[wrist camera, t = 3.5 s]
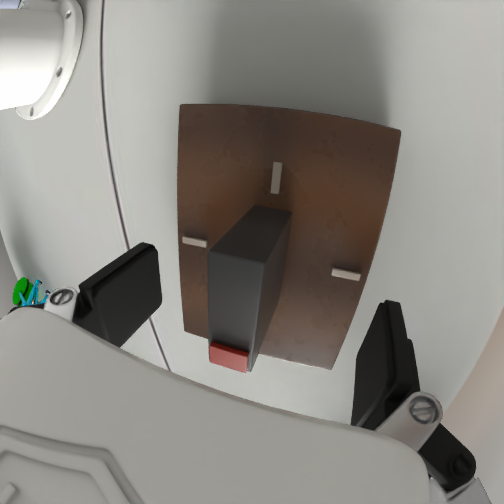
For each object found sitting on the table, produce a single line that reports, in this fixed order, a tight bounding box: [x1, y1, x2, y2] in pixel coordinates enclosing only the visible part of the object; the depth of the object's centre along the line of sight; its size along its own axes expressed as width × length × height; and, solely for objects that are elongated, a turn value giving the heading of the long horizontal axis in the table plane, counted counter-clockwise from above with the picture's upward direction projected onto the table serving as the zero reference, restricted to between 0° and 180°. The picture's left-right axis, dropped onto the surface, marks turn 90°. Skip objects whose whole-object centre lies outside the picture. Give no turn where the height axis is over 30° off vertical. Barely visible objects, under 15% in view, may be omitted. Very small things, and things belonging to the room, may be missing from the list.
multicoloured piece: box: [13, 277, 51, 307], centre depth 29 cm, size 12×7×8 cm
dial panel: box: [177, 104, 401, 370], centre depth 15 cm, size 14×10×3 cm
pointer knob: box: [208, 205, 292, 373], centre depth 11 cm, size 5×2×5 cm, turn 175°
